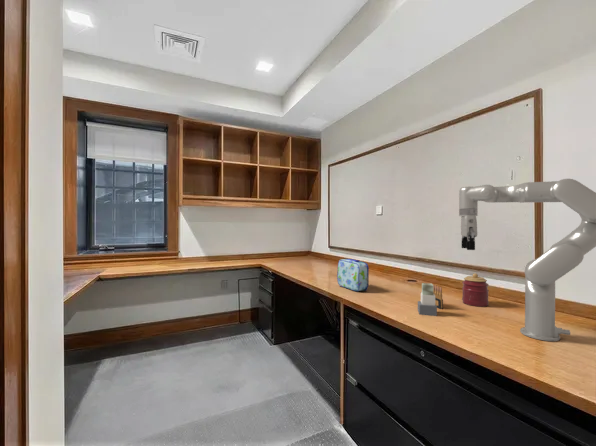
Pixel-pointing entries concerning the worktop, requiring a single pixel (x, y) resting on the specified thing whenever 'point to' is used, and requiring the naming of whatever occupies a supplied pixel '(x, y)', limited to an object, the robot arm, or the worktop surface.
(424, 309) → the tower base
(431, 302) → the tower top
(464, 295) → the canister
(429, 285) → the sage block
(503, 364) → the worktop surface
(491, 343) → the worktop surface
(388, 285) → the worktop surface
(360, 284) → the lunch box
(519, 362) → the worktop surface
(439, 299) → the ammunition clip
